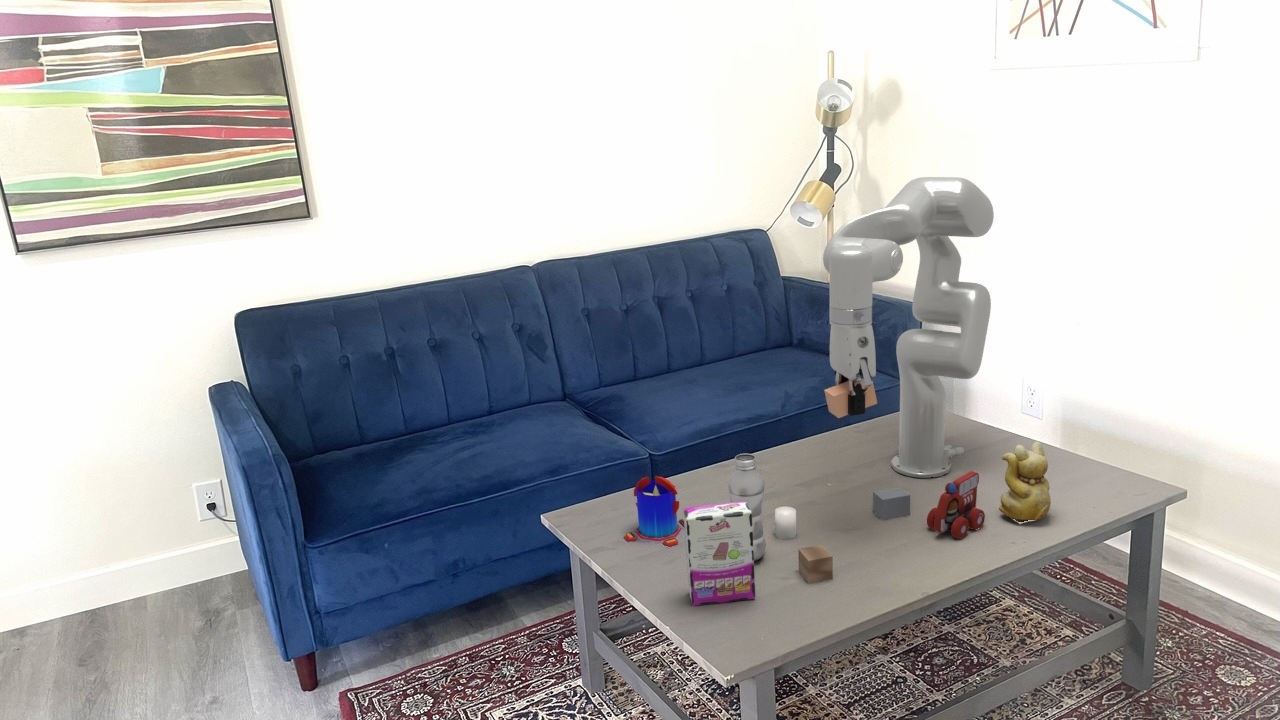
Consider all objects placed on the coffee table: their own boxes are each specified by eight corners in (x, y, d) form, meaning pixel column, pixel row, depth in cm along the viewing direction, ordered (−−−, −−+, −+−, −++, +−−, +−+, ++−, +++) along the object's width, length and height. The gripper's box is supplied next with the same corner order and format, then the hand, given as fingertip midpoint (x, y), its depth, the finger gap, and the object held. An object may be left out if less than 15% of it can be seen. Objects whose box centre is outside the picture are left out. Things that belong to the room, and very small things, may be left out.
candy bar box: (749, 585, 161) (747, 499, 156) (756, 600, 156) (753, 512, 152) (686, 591, 160) (682, 505, 156) (691, 607, 155) (686, 518, 151)
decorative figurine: (1028, 504, 184) (1032, 434, 180) (1062, 520, 177) (1067, 447, 173) (992, 516, 180) (995, 444, 176) (1025, 532, 173) (1030, 458, 169)
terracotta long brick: (867, 396, 173) (862, 375, 172) (877, 403, 170) (872, 381, 168) (829, 411, 172) (824, 389, 171) (838, 418, 168) (833, 396, 167)
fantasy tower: (619, 541, 180) (615, 485, 176) (641, 515, 190) (638, 461, 187) (676, 549, 175) (673, 491, 172) (695, 522, 186) (693, 467, 182)
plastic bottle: (728, 549, 174) (725, 451, 168) (764, 548, 173) (762, 449, 168) (730, 566, 168) (727, 465, 162) (768, 565, 167) (765, 463, 162)
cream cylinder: (791, 528, 181) (791, 505, 179) (799, 537, 177) (799, 513, 175) (772, 531, 180) (771, 508, 178) (780, 540, 176) (779, 517, 175)
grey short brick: (899, 507, 187) (900, 487, 185) (909, 515, 183) (910, 495, 182) (872, 512, 185) (873, 491, 184) (882, 520, 182) (882, 499, 180)
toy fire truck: (919, 533, 176) (921, 483, 173) (958, 512, 183) (960, 464, 180) (951, 545, 170) (953, 494, 167) (989, 524, 177) (992, 474, 174)
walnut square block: (822, 567, 166) (821, 544, 164) (832, 579, 161) (832, 556, 160) (798, 571, 165) (798, 548, 163) (808, 583, 160) (808, 560, 159)
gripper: (892, 322, 159) (891, 422, 164) (848, 302, 174) (848, 394, 180) (852, 328, 157) (852, 428, 162) (812, 307, 173) (813, 399, 178)
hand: (850, 409), depth 171 cm, fingers closed on terracotta long brick, 4 cm apart
